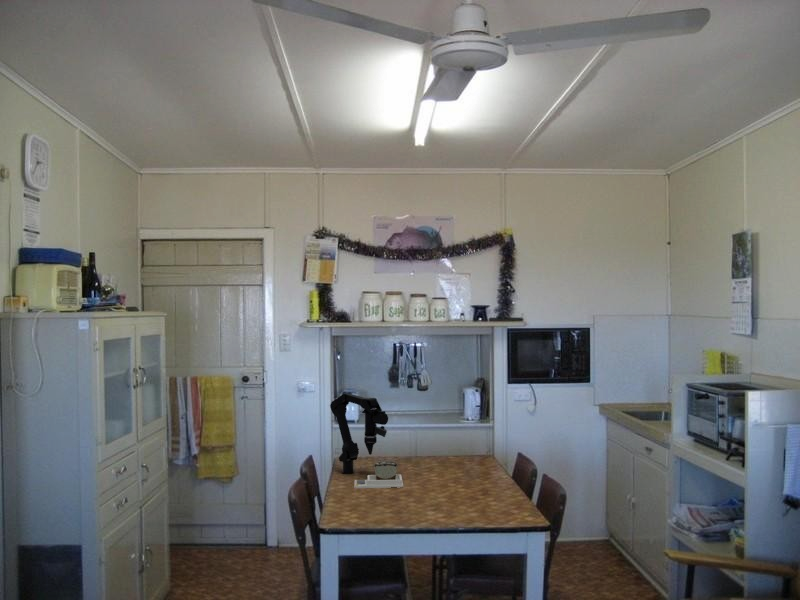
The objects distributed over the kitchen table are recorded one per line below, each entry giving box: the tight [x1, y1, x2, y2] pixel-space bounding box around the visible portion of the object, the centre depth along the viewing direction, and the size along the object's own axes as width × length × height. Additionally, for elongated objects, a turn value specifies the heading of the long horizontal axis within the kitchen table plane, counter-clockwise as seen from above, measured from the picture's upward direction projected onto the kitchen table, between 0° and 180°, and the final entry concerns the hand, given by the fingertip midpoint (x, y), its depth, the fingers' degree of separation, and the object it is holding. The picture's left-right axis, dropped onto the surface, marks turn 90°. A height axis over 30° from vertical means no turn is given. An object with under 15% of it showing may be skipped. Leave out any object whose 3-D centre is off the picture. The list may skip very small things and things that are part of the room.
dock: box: [353, 474, 404, 489], centre depth 320 cm, size 12×24×4 cm, turn 93°
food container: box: [373, 460, 399, 480], centre depth 322 cm, size 12×6×10 cm, turn 92°
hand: (370, 452), depth 334 cm, fingers open, 9 cm apart
